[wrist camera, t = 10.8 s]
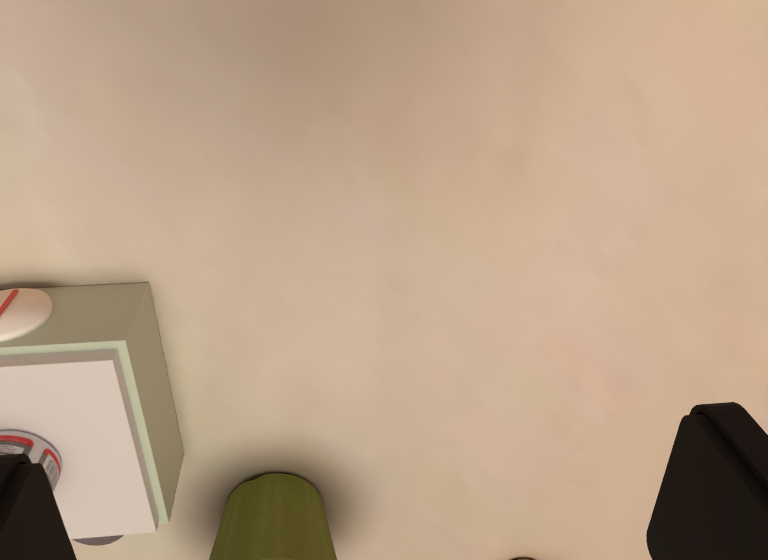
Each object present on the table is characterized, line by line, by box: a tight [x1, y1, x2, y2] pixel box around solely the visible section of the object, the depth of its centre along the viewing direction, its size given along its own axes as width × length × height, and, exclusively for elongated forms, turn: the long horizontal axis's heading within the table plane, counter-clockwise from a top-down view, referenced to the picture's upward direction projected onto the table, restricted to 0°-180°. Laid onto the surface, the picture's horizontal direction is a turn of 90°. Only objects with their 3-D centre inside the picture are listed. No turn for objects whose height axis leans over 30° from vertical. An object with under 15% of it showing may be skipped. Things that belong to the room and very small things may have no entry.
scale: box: [0, 283, 184, 539], centre depth 39 cm, size 15×14×7 cm
